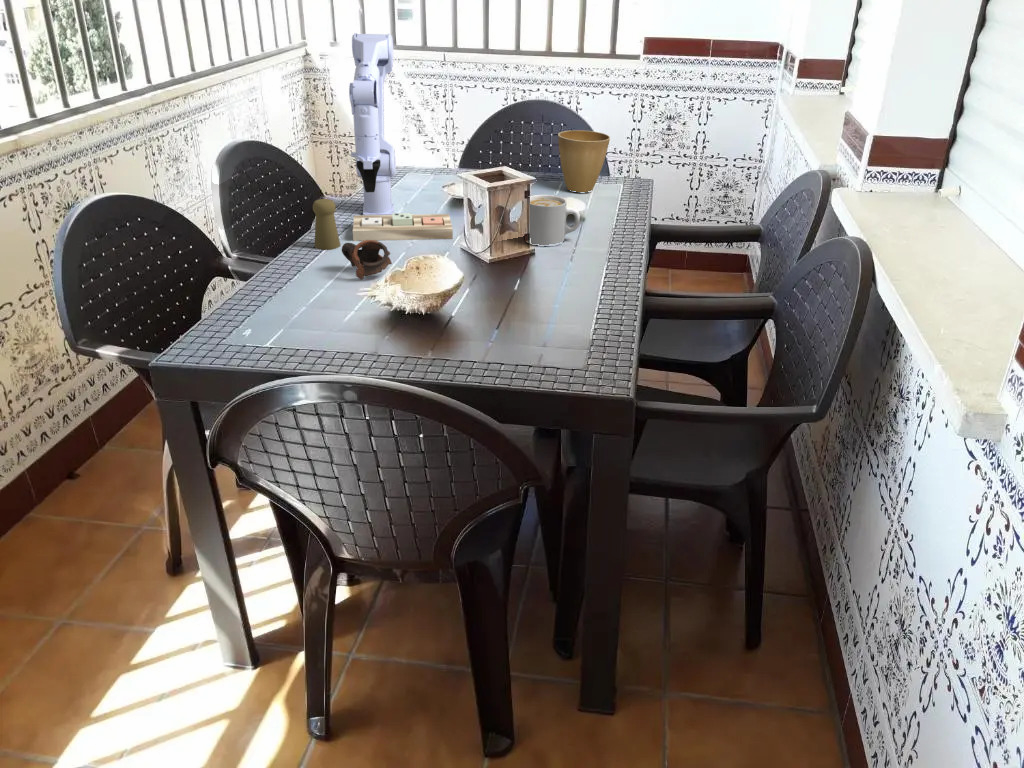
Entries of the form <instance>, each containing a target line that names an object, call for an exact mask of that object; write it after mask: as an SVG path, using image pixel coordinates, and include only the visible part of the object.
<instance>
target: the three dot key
mask: <svg viewBox="0 0 1024 768" xmlns="http://www.w3.org/2000/svg"><path fill="white" fill-rule="evenodd" d="M412 215H413V213H412V212H407V213H406V212H404V213H401V212H400V213H397V212H396V213H395V212H394V213H393V214H392V217H393V226H413V223H412Z"/></svg>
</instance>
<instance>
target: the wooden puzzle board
mask: <svg viewBox="0 0 1024 768" xmlns="http://www.w3.org/2000/svg"><path fill="white" fill-rule="evenodd" d="M423 217H442V220H443V225H423ZM362 218H382V226H362ZM412 223H413V226H393V217H392V215H363V214H362V215H361V214H359V215H354V216H353V224H352V239H353V242H358V241H360V242H362V241H365V240H375V241H405V240H407V241H410V240H411V241H412V240H451V239H453V238H454V237H453V236H454V235H453V234H454V231H453V229H454V228H453V225H452V221H451V217H450V214H449V213H434V214H433V213H432V214H431V213H430V214H429V213H428V214H422V213H421V214H412Z"/></svg>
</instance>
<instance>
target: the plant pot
mask: <svg viewBox="0 0 1024 768" xmlns="http://www.w3.org/2000/svg"><path fill="white" fill-rule="evenodd" d="M557 139H558V152H559V159H560V160H559V161H560V164H561V165H560V166H561V170H562V175H563V179H564V184H565V187H566V190H567V189H568V190H571V191H576V192H588V191H591V190H592V191H593V190H594V188H595V185H596V184H597V181H598V179H599V177H600V174H601V171H602V168H603V165H604V163H605V160H606V158H607V153H608V149H609V144H610V140H611V137H610V135H609V134H606V133H603V132H599V131H592V130H582V129H581V130H579V129H578V130H576V129H575V130H573V129H572V130H565V131H560V132H558V134H557ZM568 190H567V191H568Z"/></svg>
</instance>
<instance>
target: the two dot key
mask: <svg viewBox="0 0 1024 768" xmlns="http://www.w3.org/2000/svg"><path fill="white" fill-rule="evenodd" d="M362 226H382V218H362Z"/></svg>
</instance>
